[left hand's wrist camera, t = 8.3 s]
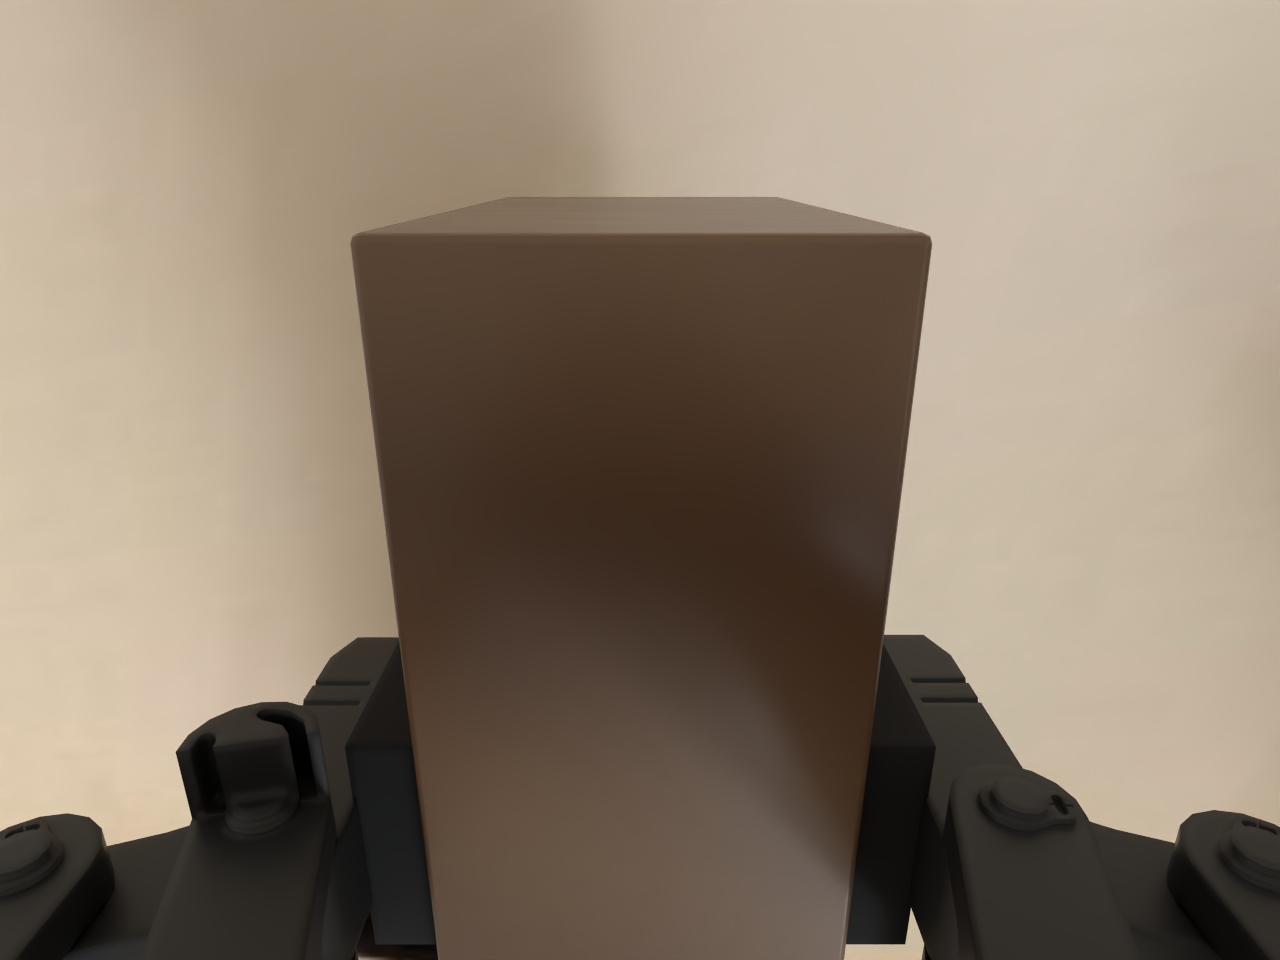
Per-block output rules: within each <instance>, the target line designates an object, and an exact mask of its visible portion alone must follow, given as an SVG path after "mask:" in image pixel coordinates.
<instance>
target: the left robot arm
mask: <svg viewBox="0 0 1280 960" xmlns="http://www.w3.org/2000/svg"><path fill="white" fill-rule="evenodd" d="M176 755H177V759H178V763H179V767H180V771H181V775H182V779H183V783H184V787H185V791H186V795H187V799H188V803H189V807H190V812H191V816H192V821H191V824H190V826H187V827H183V828H180V829H177V830H174V831H170V832H167V833H163V834H159V835H154V836H150V837H146V838H141V839H137V840H133V841H128V842H124V843H120V844H115V845H111V846H107V845H106V842H105V839H104V835H103V832H102V829H101V827H99V826H98V825H97V824H96V823H95V822H94V821H93V820H92V819H91V818H89V817H84V816H79V815H74V814H59V815H51V816H43V817H38V818H35V819H32V820H29V821H26V822H23V823H20V824H17V825H14V826H11V827H8V828H6V829H4V830H3V831H1V832H0V960H358V955H357V949H356V947H357V944H358V942H359V939H360V936H361V933H362V931H363V928H364V925H365V922H366V920H367V917H368V914H369V911H370V912H371V918H372V925H373V931H374V937H375V944H437V943H436V935H435V927H434V918H433V910H432V902H431V894H430V886H429V878H428V870H427V862H426V853H425V845H424V837H423V829H422V821H421V813H420V805H419V796H418V788H417V780H416V772H415V764H414V756H413V748H412V740H411V731H410V723H409V715H408V707H407V699H406V691H405V683H404V675H403V666H402V658H401V650H400V642H399V638H357V639H355V640H354V641H352V642H351V643H350V644H348V645H347V646H346V647H344V648H343V649H342V650H340V651H339V652H338V653H336V654H335V655H334V656H332V657H331V658H330V660H329V661H328V663H327V664H326V666H325V667H324V669H323V671H322V672H321V674H320V675H319V677H318V678H317V680H316V685H315V686H312V688H311V690H310V691H309V693H308V694H307V696H306V697H305V699H304V704H303V706H300V705H296V704H292V703H289V702H261V703H257V704H253V705H248V706H244V707H239V708H235V709H233V710H231V711H228V712H226V713H224V714H221V715H219V716H217V717H215V718H212V719H210V720H209V721H207V722H206V723H204V724H203V725H202V726H200V727H199V728H197V729H196V730H195V731H193V732H192V733H191V734H189V735H188V736H187V738H186V739H185V740H184V742H183V743H182V744H181V746H180V747H179V748H178V750H177V751H176ZM911 908H912V911H913V914H914V916H915V919H916V922H917V925H918V927H919V930H920V933H921V935H922V938H923V941H924V949H923V955H922V960H1280V827H1278V826H1276V825H1275V824H1272V823H1269V822H1266V821H1263V820H1261V819H1257V818H1254V817H1251V816H1248V815H1245V814H1241V813H1233V812H1225V811H1217V810H1212V811H1207V812H1201V813H1196V814H1192V815H1191V816H1190V817H1189V818H1188V819H1186V820H1185V821H1184V822H1183V823H1182V824H1181V825H1180V828H1179V831H1178V835H1177V838H1176V841H1175V843H1172V842H1167V841H1163V840H1159V839H1154V838H1150V837H1145V836H1141V835H1137V834H1132V833H1128V832H1124V831H1119V830H1115V829H1112V828H1109V827H1105V826H1102V825H1099V824H1095V823H1092V822H1090V821H1089V820H1088V817H1087V816H1086V814H1085V813H1084V811H1083V810H1082V808H1081V807H1080V805H1079V804H1078V802H1077V800H1076V799H1075V798H1073V797H1072V796H1071V795H1070V794H1069V793H1067V792H1066V791H1065V790H1064V789H1062V788H1061V787H1060V786H1059V785H1058V784H1056V783H1055V782H1053V781H1050V780H1048V779H1046V778H1044V777H1042V776H1040V775H1038V774H1036V773H1034V772H1032V771H1029V770H1025V769H1023V768H1022V767H1021V765H1020V763H1019V762H1018V760H1017V759H1016V757H1015V756H1014V754H1013V752H1012V751H1011V749H1010V748H1009V746H1008V745H1007V743H1006V741H1005V740H1004V738H1003V737H1002V735H1001V734H1000V732H999V730H998V729H997V727H996V726H995V724H994V723H993V721H992V719H991V718H990V716H989V715H988V713H987V712H986V710H985V708H984V707H983V705H982V704H981V703H978V697H977V696H976V694H975V693H974V691H973V690H972V688H971V686H970V685H969V683H966V681H965V677H964V675H963V674H962V672H961V671H960V669H959V668H958V666H957V664H956V663H955V661H954V660H953V658H952V657H951V655H950V654H948V653H947V652H946V651H944V650H943V649H942V648H940V647H939V646H938V645H936V644H935V643H934V642H932V641H931V640H929V639H928V638H927V637H925V636H924V635H884V638H883V646H882V654H881V662H880V670H879V679H878V687H877V695H876V703H875V711H874V719H873V727H872V735H871V743H870V752H869V760H868V768H867V776H866V784H865V792H864V800H863V808H862V816H861V825H860V833H859V841H858V849H857V857H856V865H855V873H854V881H853V889H852V897H851V906H850V914H849V922H848V930H847V938H846V944H905V942H906V935H907V929H908V923H909V916H910V910H911Z"/></svg>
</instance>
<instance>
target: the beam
mask: <svg viewBox="0 0 1280 960" xmlns="http://www.w3.org/2000/svg"><path fill="white" fill-rule="evenodd" d="M931 249H932V242H931V238H930V236H928V235H926V234H924V233H921V232H917V231H913V230H909V229H905V228H901V227H897V226H893V225H888V224H884V223H880V222H876V221H872V220H868V219H864V218H860V217H856V216H852V215H848V214H844V213H840V212H836V211H832V210H827V209H823V208H819V207H815V206H811V205H807V204H803V203H799V202H795V201H791V200H787V199H783V198H779V197H508V198H504V199H500V200H495V201H491V202H487V203H483V204H479V205H474V206H470V207H466V208H462V209H458V210H454V211H449V212H445V213H441V214H437V215H433V216H428V217H424V218H420V219H416V220H412V221H408V222H403V223H399V224H395V225H391V226H387V227H382V228H378V229H374V230H370V231H366V232H362V233H359V234H356V235H354V236H353V237H352V240H351V252H352V260H353V268H354V276H355V284H356V292H357V301H358V309H359V317H360V325H361V333H362V341H363V349H364V357H365V366H366V374H367V382H368V390H369V398H370V406H371V414H372V422H373V431H374V439H375V447H376V455H377V463H378V471H379V479H380V488H381V496H382V504H383V512H384V520H385V528H386V536H387V544H388V553H389V561H390V569H391V577H392V585H393V593H394V601H395V609H396V618H397V626H398V634H399V642H400V650H401V658H402V666H403V675H404V683H405V691H406V699H407V707H408V715H409V723H410V731H411V740H412V748H413V756H414V764H415V772H416V780H417V788H418V796H419V805H420V813H421V821H422V829H423V837H424V845H425V853H426V862H427V870H428V878H429V886H430V894H431V902H432V910H433V918H434V927H435V935H436V943H437V951H438V959H439V960H844V954H845V946H846V938H847V930H848V922H849V914H850V906H851V897H852V889H853V881H854V873H855V865H856V857H857V849H858V841H859V833H860V825H861V816H862V808H863V800H864V792H865V784H866V776H867V768H868V760H869V752H870V743H871V735H872V727H873V719H874V711H875V703H876V695H877V687H878V679H879V670H880V662H881V654H882V646H883V638H884V630H885V622H886V614H887V606H888V597H889V589H890V581H891V573H892V565H893V557H894V549H895V541H896V533H897V524H898V516H899V508H900V500H901V492H902V484H903V476H904V468H905V460H906V451H907V443H908V435H909V427H910V419H911V411H912V403H913V395H914V387H915V379H916V370H917V362H918V354H919V346H920V338H921V330H922V322H923V314H924V306H925V297H926V289H927V281H928V273H929V265H930V257H931Z"/></svg>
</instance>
